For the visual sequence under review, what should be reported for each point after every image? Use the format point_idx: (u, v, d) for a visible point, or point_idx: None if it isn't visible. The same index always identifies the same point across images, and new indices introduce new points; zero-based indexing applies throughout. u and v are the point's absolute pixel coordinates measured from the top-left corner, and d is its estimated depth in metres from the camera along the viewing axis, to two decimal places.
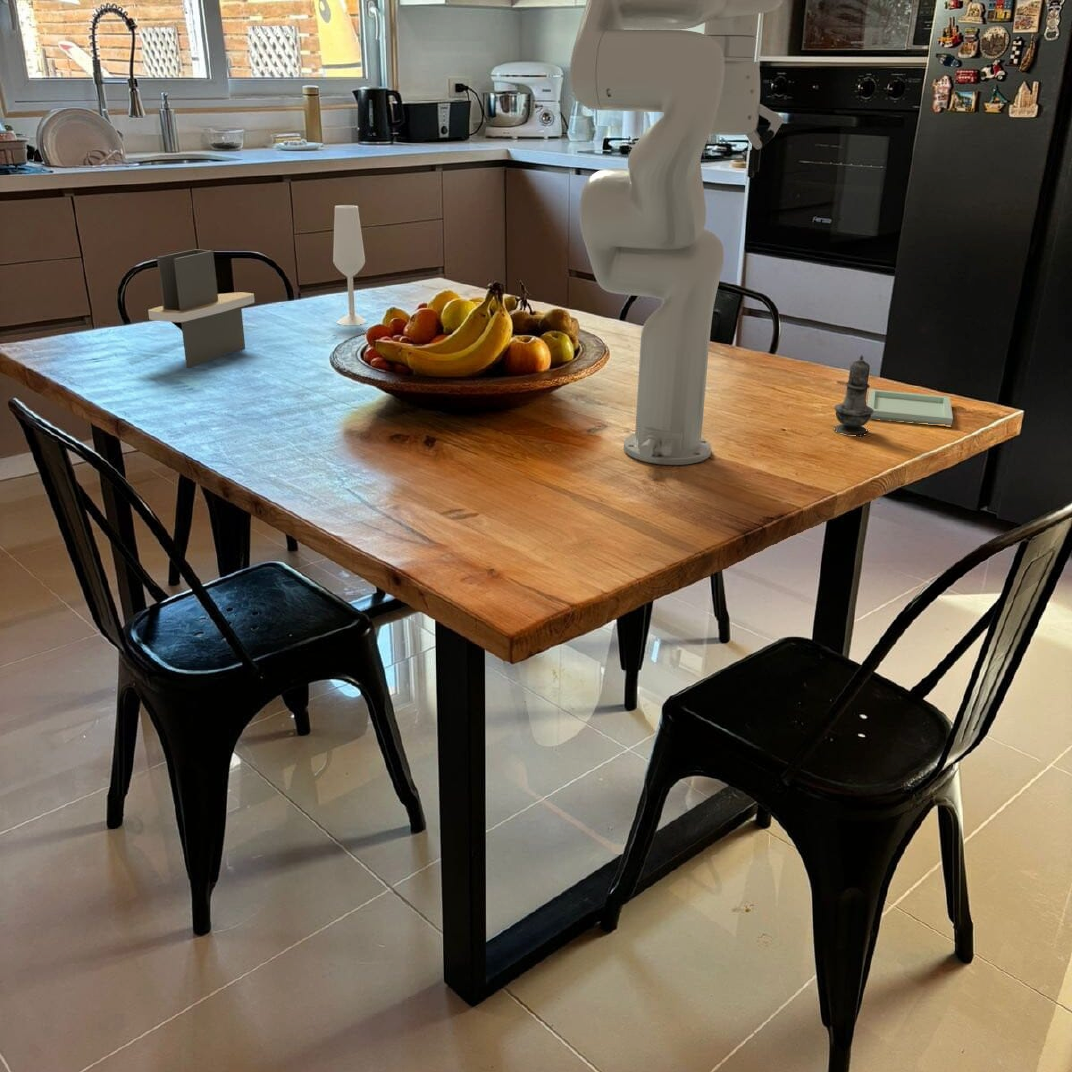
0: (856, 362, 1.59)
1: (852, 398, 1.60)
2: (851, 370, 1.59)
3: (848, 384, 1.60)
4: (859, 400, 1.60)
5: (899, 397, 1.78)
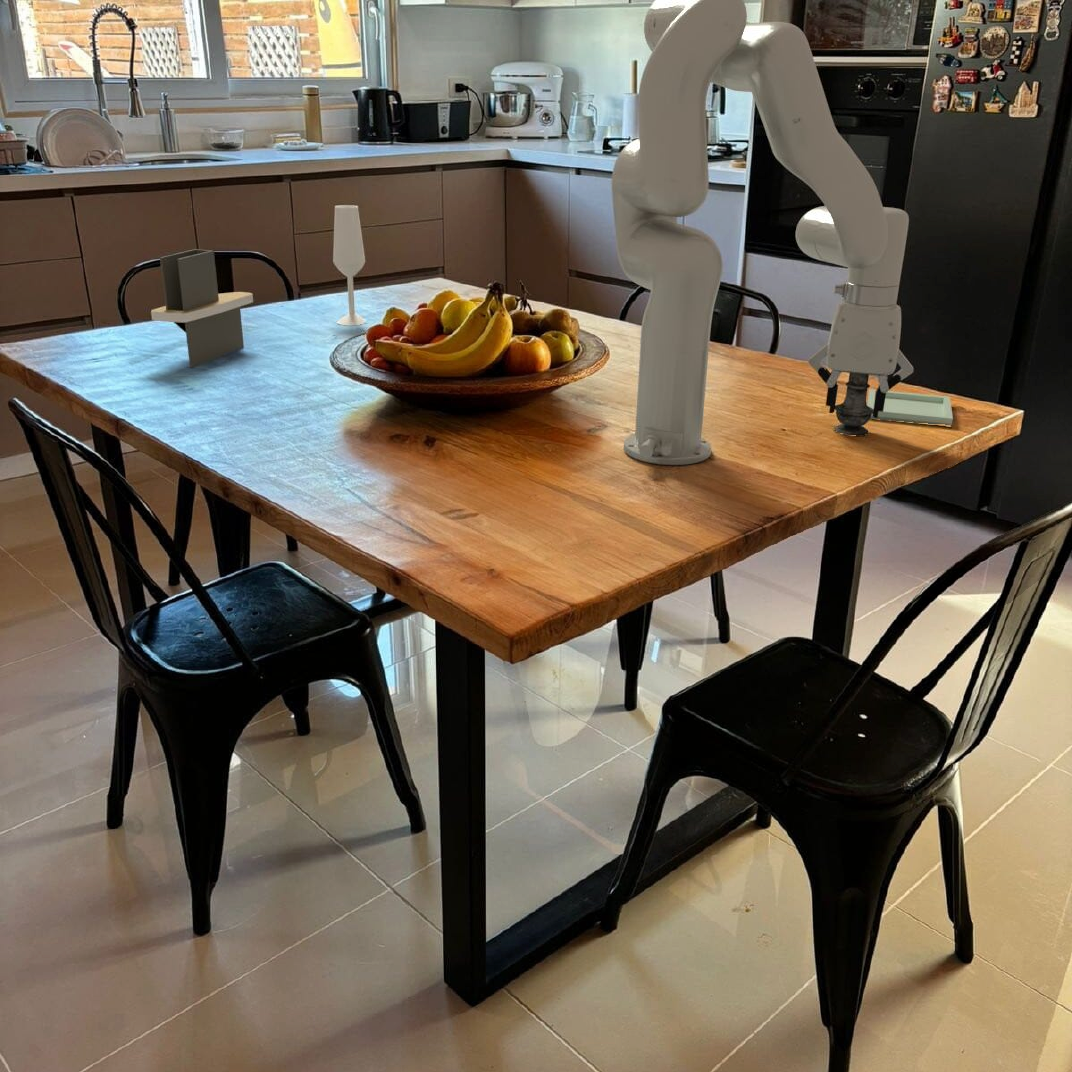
0: None
1: (852, 398, 1.60)
2: None
3: (848, 384, 1.60)
4: (859, 400, 1.60)
5: (899, 397, 1.78)
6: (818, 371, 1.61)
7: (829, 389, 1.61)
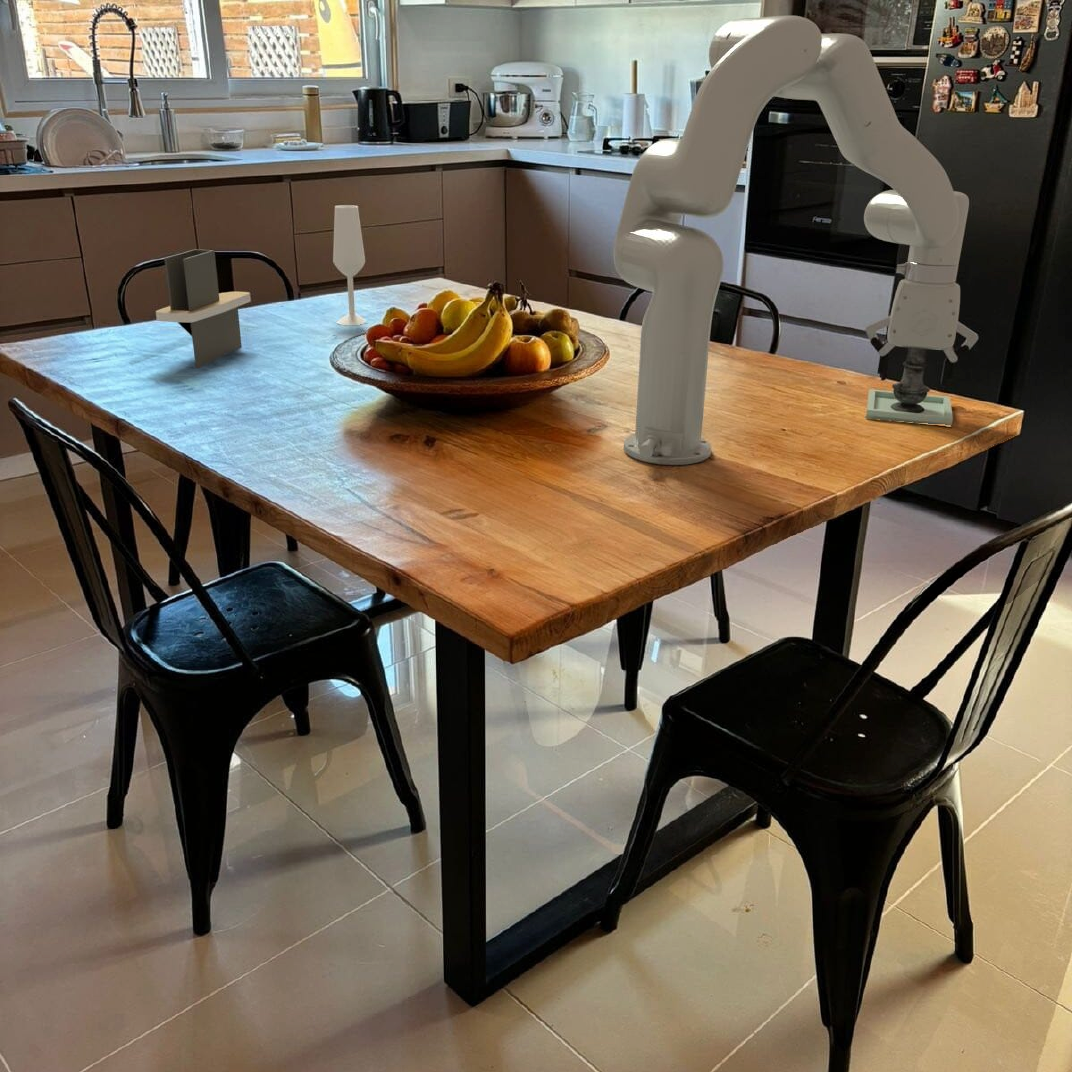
0: None
1: (910, 377, 1.69)
2: (909, 350, 1.69)
3: (906, 364, 1.69)
4: (916, 379, 1.69)
5: None
6: (871, 340, 1.70)
7: (881, 358, 1.70)
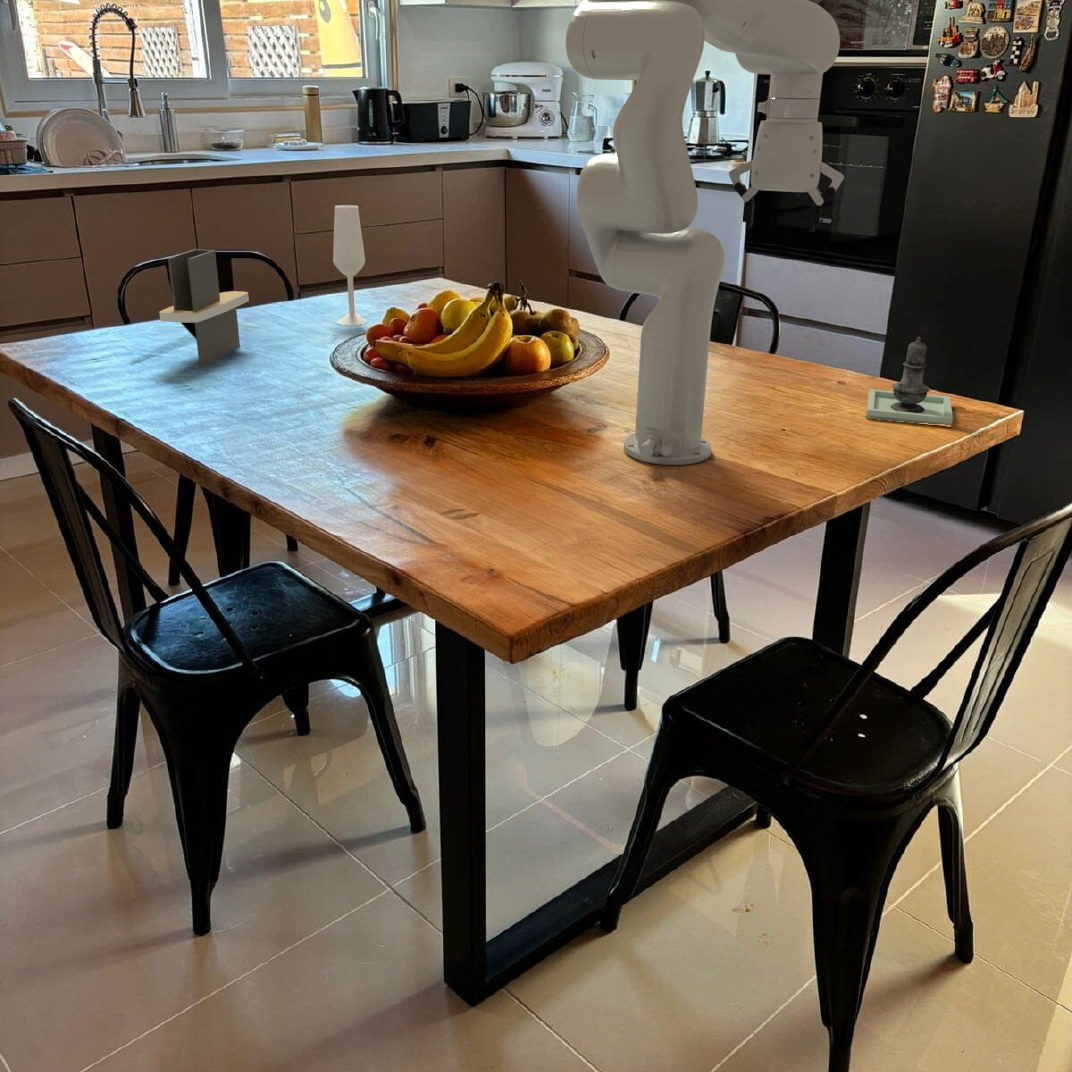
0: (914, 343, 1.68)
1: (909, 377, 1.69)
2: (909, 350, 1.69)
3: (906, 364, 1.69)
4: (916, 379, 1.69)
5: None
6: (735, 185, 1.63)
7: (745, 204, 1.64)
